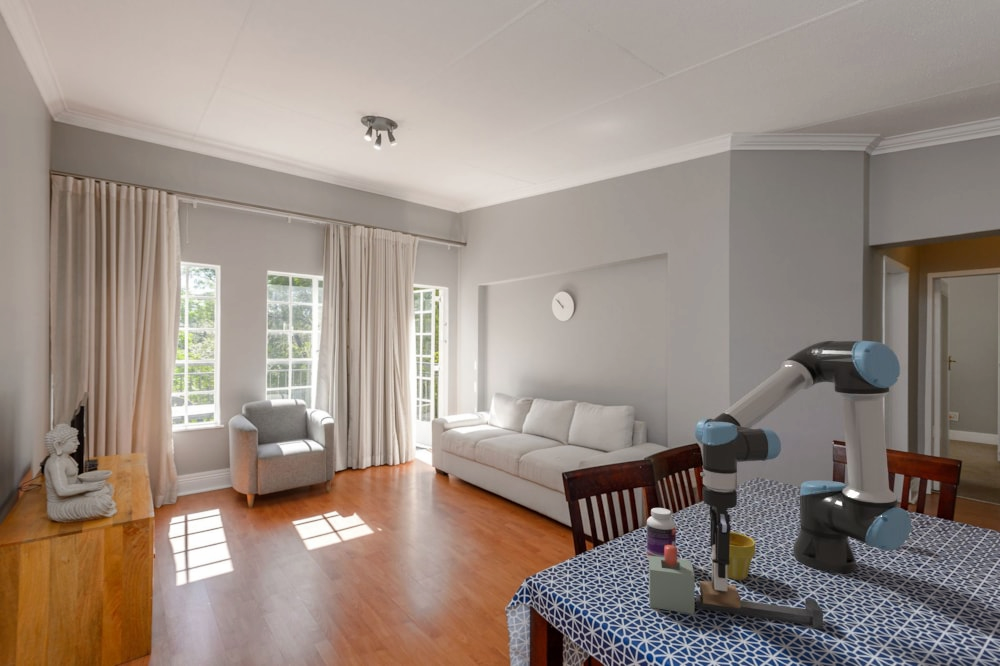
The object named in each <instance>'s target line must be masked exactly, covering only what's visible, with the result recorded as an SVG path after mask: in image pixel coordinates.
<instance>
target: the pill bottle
mask: <svg viewBox="0 0 1000 666" xmlns="http://www.w3.org/2000/svg"><path fill="white" fill-rule="evenodd" d="M650 515H651V516H649V517H648V518H647V520H646V558H647V560H649V556H657V557H664V546H665V545H673V546H676V547H677V545H676V543H677V541H676V540H677V538H676V531H677V529H676V528H677V525H676V522H675V520H674V519H673V518H672V511H671V510H670V509H667V508H663V507H653V508H651V510H650Z"/></svg>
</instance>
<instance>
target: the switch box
mask: <svg viewBox="0 0 1000 666" xmlns="http://www.w3.org/2000/svg"><path fill="white" fill-rule="evenodd" d="M695 577H696V576H695V571H694V568H693V565H692V561H691V560H688V559H680V558H677V566H675V567H671V566H667V565H666V564H665V563H664V557H657V556H649V559H648V597H649V598H648V599H649V600H648V601H649V608H652V609H658V610H666V611H671V612H677V613H678V612H680V613H686V614H692V615H694V614H695V604H696V594H695V588H696V587H695V586H696V585H695Z"/></svg>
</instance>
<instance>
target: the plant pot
mask: <svg viewBox="0 0 1000 666" xmlns="http://www.w3.org/2000/svg"><path fill="white" fill-rule="evenodd" d="M755 556H756V542H755V540H754V539H753V538H751V536H747V535H746V534H744V533H739V532H736V531H735V532H734V531H730V548H729V561H730V563H729V565H727V578H729V579H733V580H737V581H741V580H745V579H747V578H748V575H749V571H750V567H751V563H752V559H753V558H754V557H755Z"/></svg>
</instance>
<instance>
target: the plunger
mask: <svg viewBox="0 0 1000 666" xmlns="http://www.w3.org/2000/svg"><path fill="white" fill-rule="evenodd" d="M677 559H678V547H677V545H676V546H673V545H665V546H664V563H665V564H666V565H667V566H671V567H675V566H677Z"/></svg>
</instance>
